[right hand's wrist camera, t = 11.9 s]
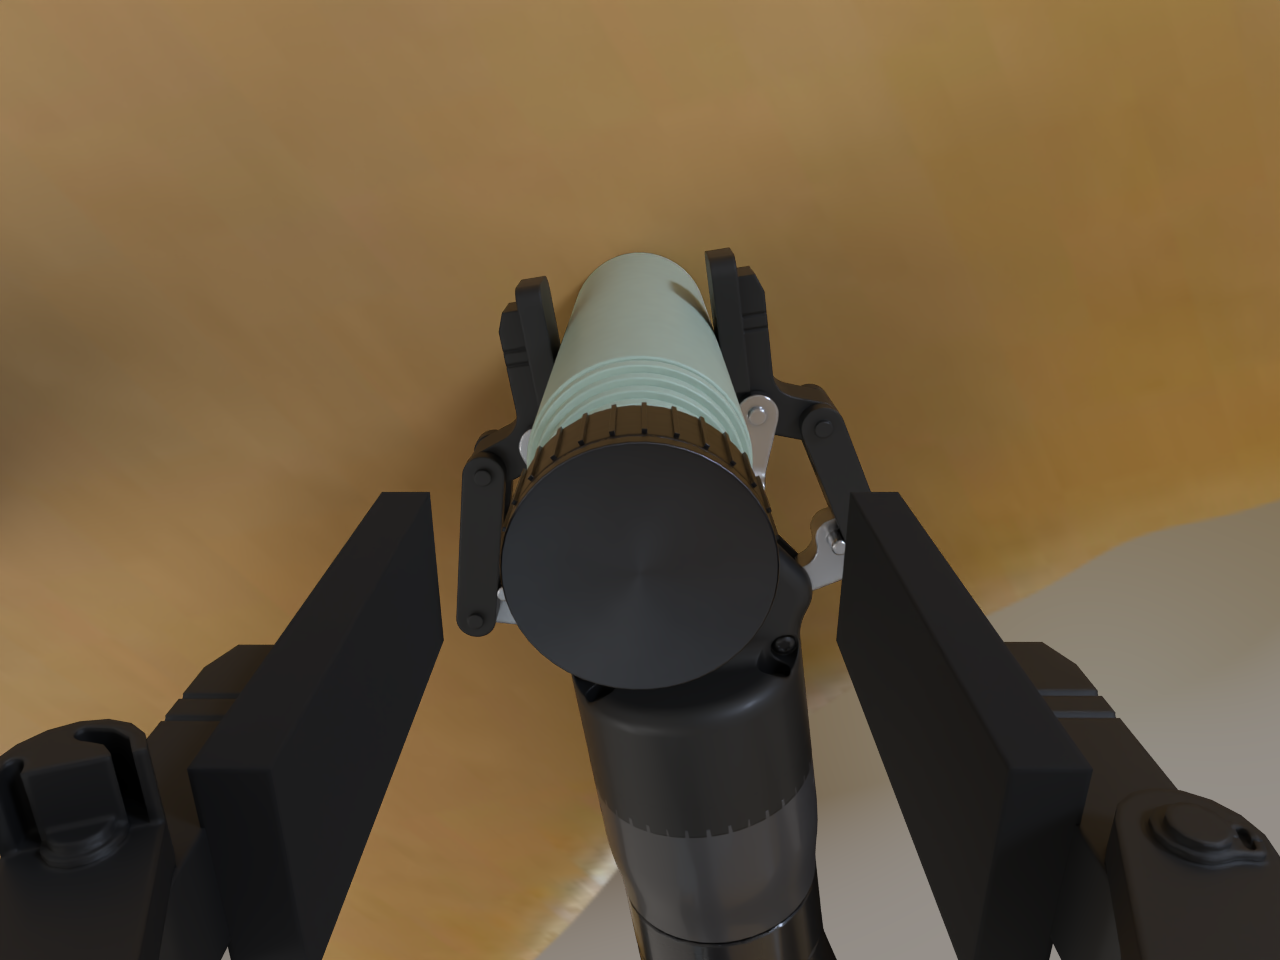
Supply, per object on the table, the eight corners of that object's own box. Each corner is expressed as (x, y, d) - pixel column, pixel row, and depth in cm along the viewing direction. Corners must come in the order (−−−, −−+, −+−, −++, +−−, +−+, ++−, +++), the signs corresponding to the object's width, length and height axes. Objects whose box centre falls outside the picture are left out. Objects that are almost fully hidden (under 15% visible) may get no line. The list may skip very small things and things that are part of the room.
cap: (763, 390, 15) (780, 427, 13) (770, 623, 16) (785, 683, 15) (495, 411, 15) (476, 449, 13) (529, 639, 16) (516, 701, 15)
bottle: (702, 246, 30) (780, 413, 13) (708, 377, 32) (786, 673, 15) (567, 257, 30) (476, 437, 13) (581, 387, 32) (516, 691, 15)
